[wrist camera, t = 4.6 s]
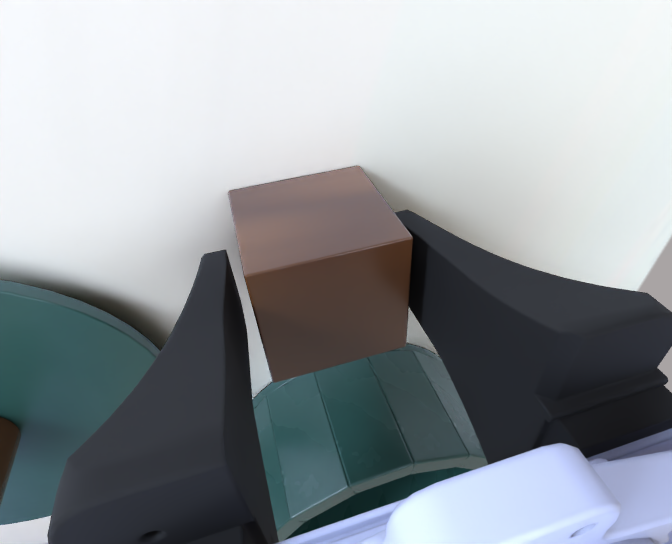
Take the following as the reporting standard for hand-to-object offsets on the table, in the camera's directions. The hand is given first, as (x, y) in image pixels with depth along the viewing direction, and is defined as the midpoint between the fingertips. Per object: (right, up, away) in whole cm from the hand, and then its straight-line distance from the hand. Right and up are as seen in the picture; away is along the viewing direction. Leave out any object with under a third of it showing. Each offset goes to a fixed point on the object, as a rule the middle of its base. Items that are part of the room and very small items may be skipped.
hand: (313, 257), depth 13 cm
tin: (+1, -8, +9) cm, 12 cm away
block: (0, +1, +1) cm, 1 cm away
